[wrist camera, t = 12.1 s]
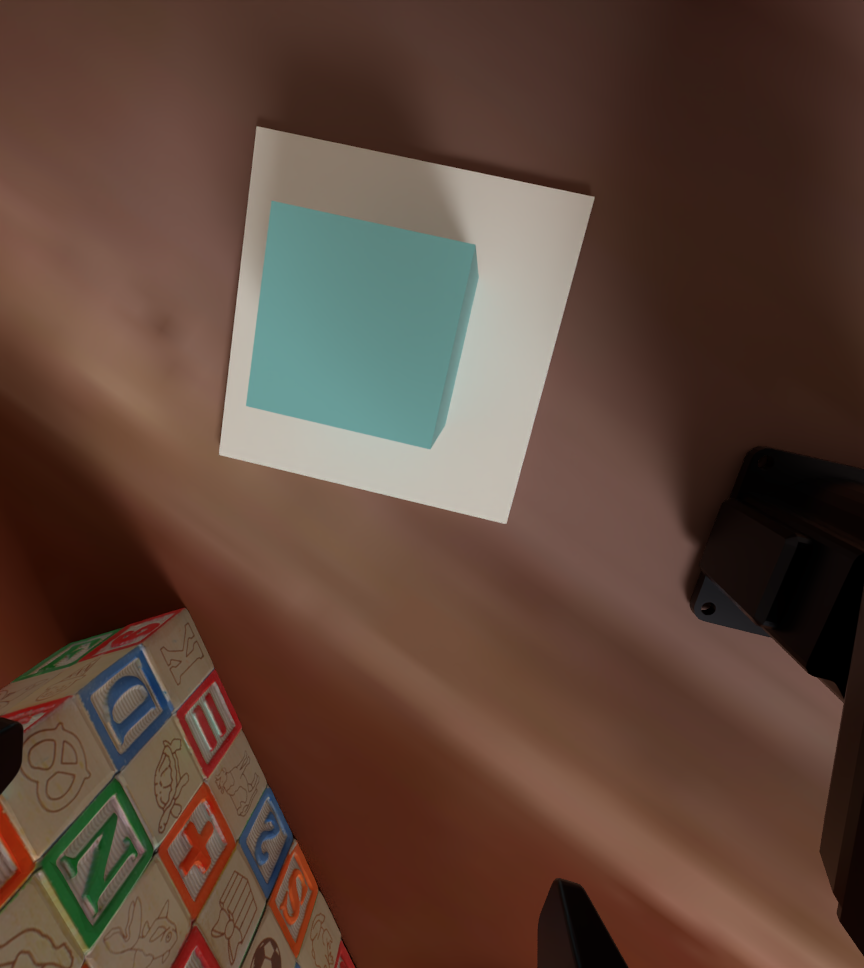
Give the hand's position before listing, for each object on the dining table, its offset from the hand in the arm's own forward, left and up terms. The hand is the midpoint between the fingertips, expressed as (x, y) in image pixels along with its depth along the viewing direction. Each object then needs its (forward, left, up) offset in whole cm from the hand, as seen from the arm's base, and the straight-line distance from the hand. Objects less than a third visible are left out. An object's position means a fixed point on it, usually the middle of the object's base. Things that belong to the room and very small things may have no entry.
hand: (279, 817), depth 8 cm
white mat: (+2, -8, -12) cm, 14 cm away
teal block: (+2, -8, -12) cm, 14 cm away
